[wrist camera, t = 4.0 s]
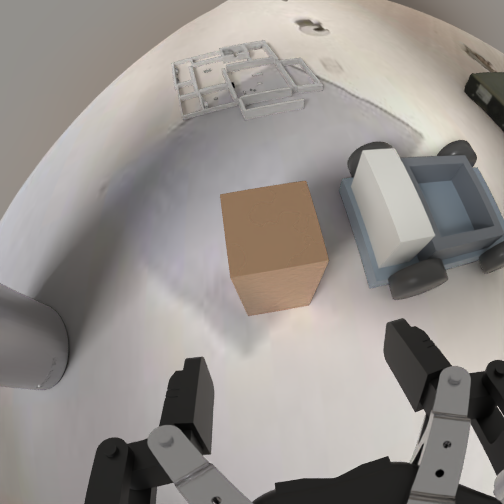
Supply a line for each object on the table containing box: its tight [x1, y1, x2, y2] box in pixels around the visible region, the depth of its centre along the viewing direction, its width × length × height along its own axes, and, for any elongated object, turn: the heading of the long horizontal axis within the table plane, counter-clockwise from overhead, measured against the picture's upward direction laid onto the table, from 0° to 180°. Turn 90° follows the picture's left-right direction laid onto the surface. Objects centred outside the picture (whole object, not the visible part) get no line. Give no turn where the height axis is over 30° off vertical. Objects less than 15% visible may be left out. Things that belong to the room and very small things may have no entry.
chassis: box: [339, 140, 504, 300], centre depth 23 cm, size 18×13×7 cm
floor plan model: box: [171, 40, 323, 120], centre depth 36 cm, size 19×25×2 cm
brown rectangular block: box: [220, 181, 329, 316], centre depth 20 cm, size 5×5×10 cm
